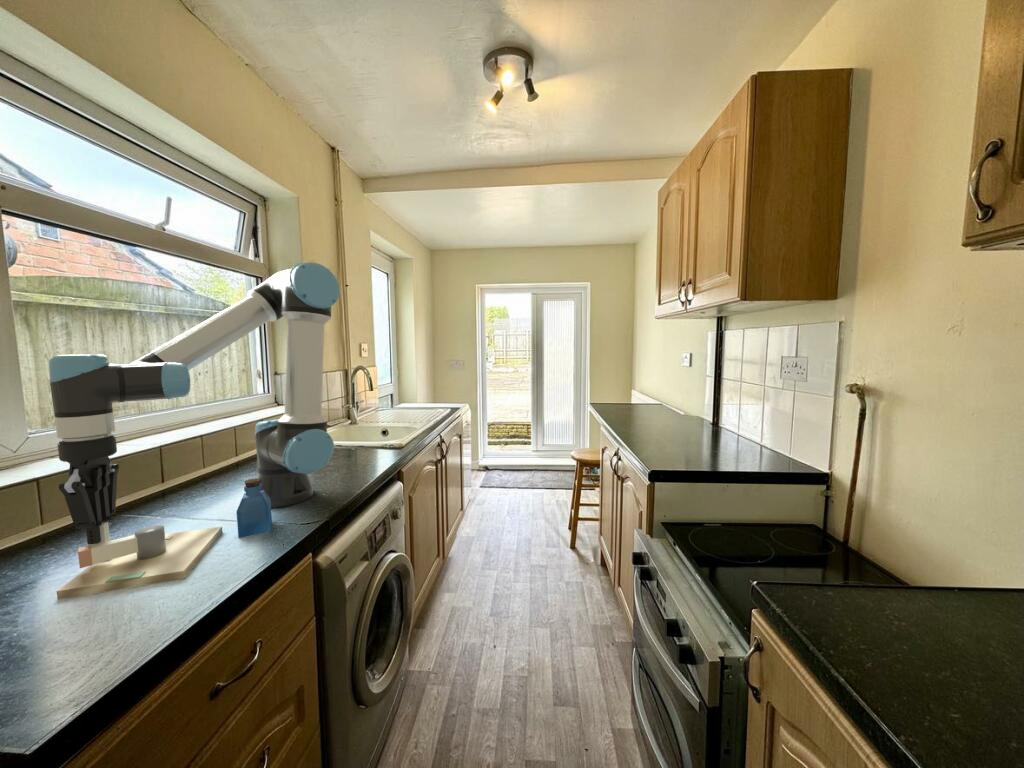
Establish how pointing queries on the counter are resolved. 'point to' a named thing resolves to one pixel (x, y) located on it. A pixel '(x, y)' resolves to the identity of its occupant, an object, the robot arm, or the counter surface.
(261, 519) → the perfume bottle
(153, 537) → the hammer
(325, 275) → the robot arm
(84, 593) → the board
